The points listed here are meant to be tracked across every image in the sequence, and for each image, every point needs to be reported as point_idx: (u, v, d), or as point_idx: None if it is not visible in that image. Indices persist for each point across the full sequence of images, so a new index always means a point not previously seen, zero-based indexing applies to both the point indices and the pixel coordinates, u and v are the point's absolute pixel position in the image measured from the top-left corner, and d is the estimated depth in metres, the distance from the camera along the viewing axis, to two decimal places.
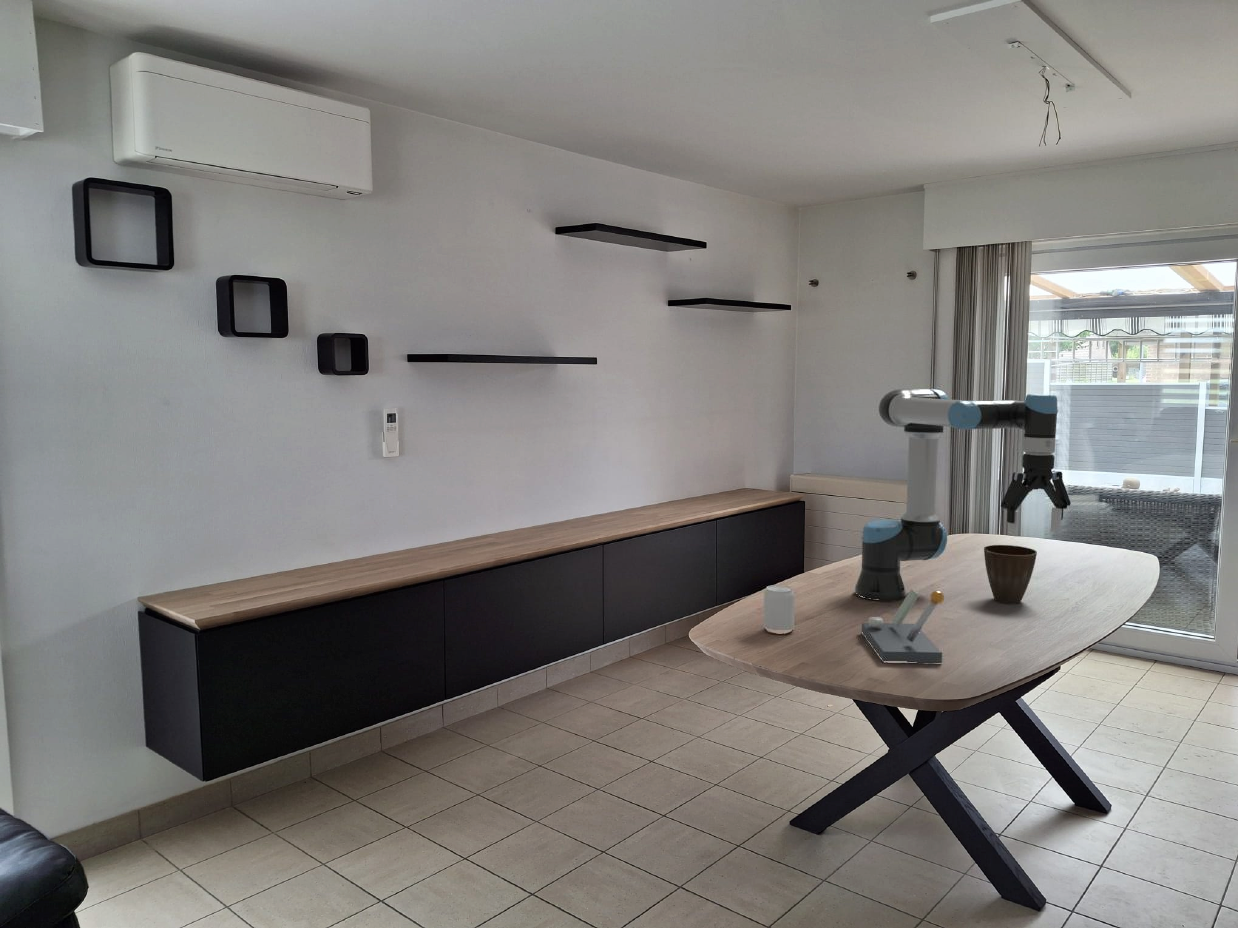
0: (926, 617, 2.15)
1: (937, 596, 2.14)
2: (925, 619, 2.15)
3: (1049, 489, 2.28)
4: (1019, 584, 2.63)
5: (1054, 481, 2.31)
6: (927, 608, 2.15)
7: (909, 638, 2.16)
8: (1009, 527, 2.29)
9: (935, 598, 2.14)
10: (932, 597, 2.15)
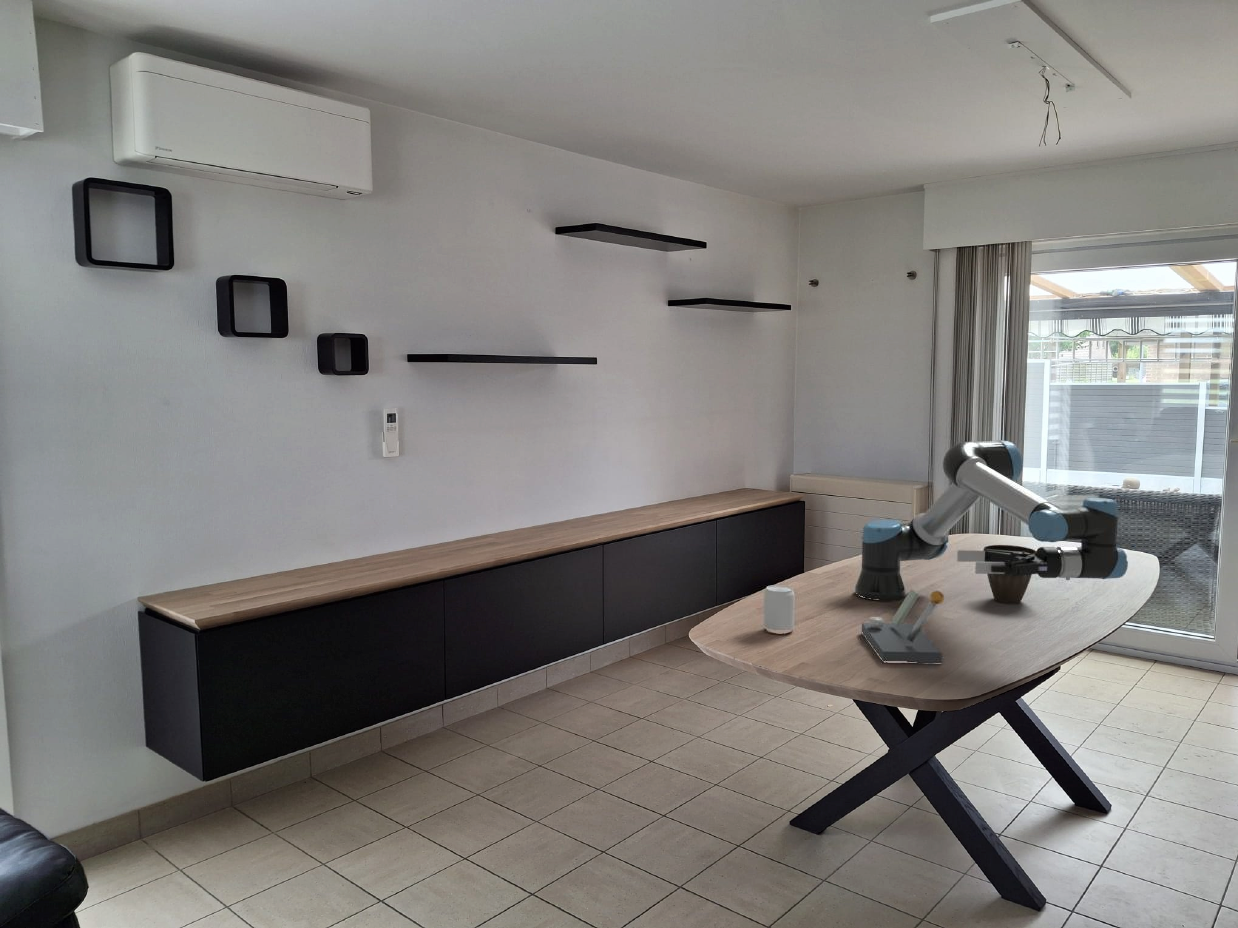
0: (926, 617, 2.15)
1: (937, 596, 2.14)
2: (925, 619, 2.15)
3: None
4: (1019, 584, 2.63)
5: None
6: (927, 608, 2.15)
7: (909, 638, 2.16)
8: (985, 563, 2.07)
9: (935, 598, 2.14)
10: (932, 597, 2.15)
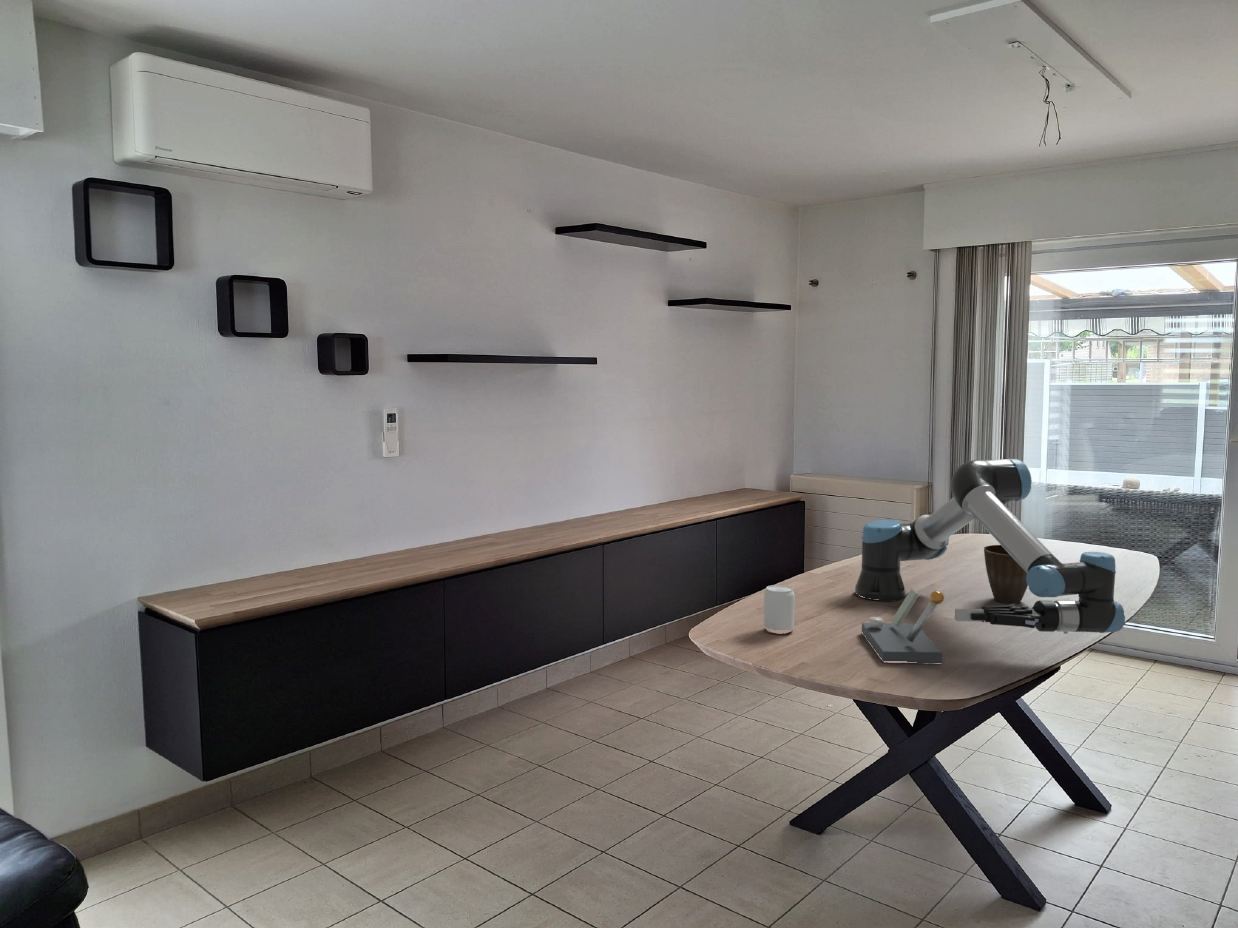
0: (926, 617, 2.15)
1: (937, 596, 2.14)
2: (925, 619, 2.15)
3: None
4: (1019, 584, 2.63)
5: None
6: (927, 608, 2.15)
7: (909, 638, 2.16)
8: (965, 611, 2.14)
9: (935, 598, 2.14)
10: (932, 597, 2.15)
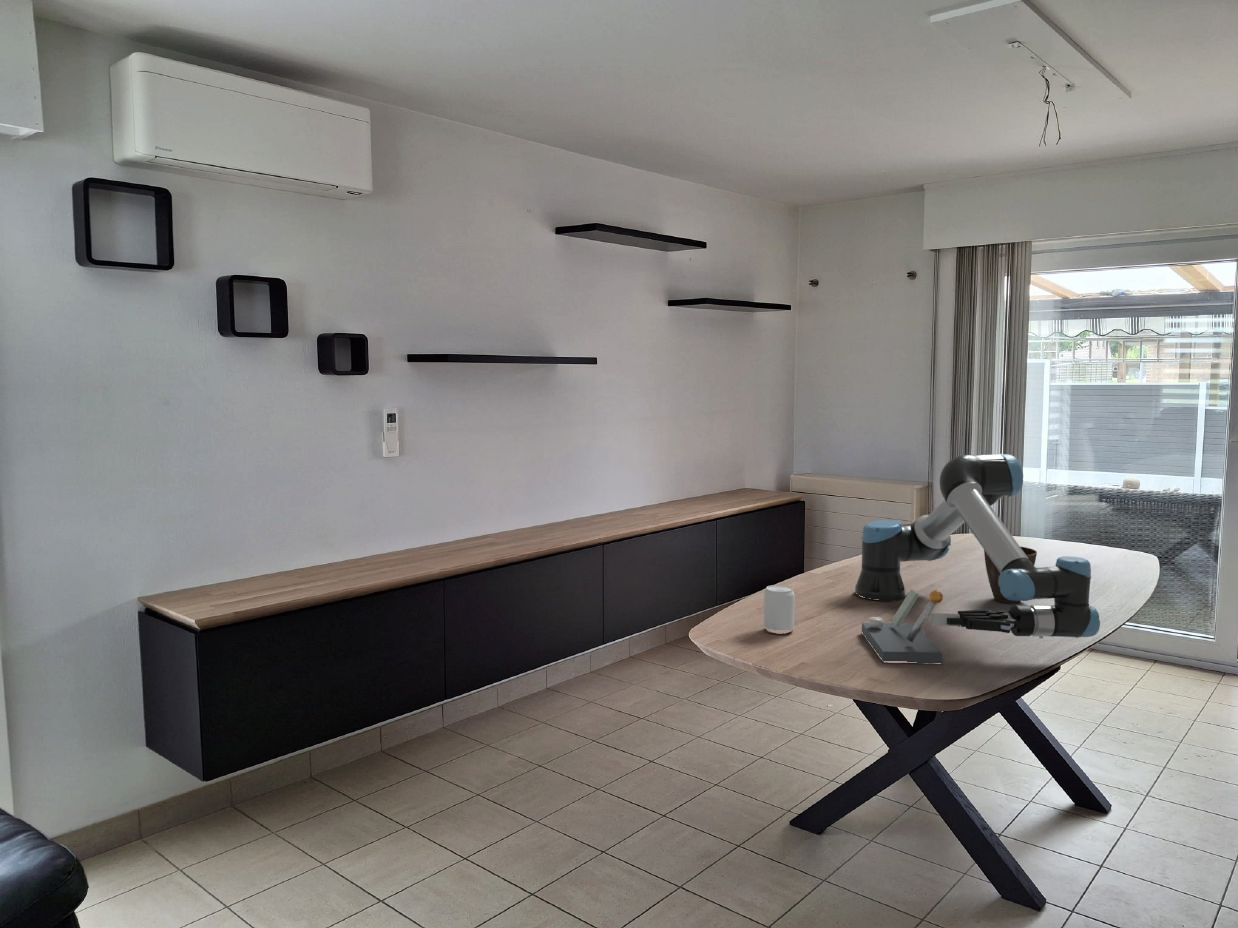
0: (925, 617, 2.15)
1: (936, 596, 2.14)
2: (924, 619, 2.15)
3: None
4: None
5: None
6: (926, 608, 2.15)
7: (909, 638, 2.16)
8: (941, 616, 2.14)
9: (934, 597, 2.14)
10: (931, 597, 2.15)
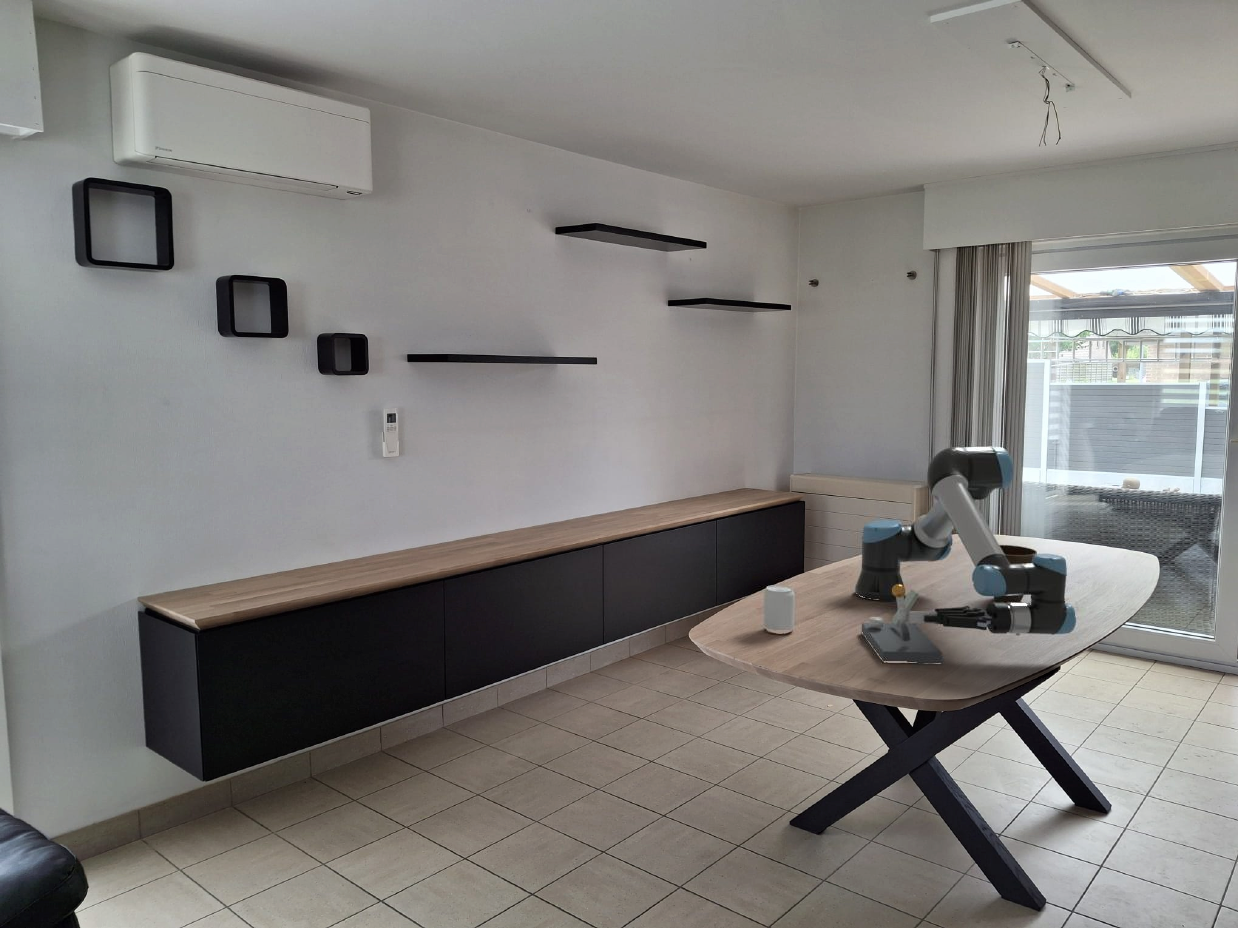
0: (903, 613, 2.15)
1: (897, 591, 2.14)
2: (904, 615, 2.15)
3: None
4: None
5: None
6: (898, 605, 2.15)
7: (905, 639, 2.16)
8: (918, 613, 2.15)
9: (897, 593, 2.14)
10: (894, 594, 2.15)
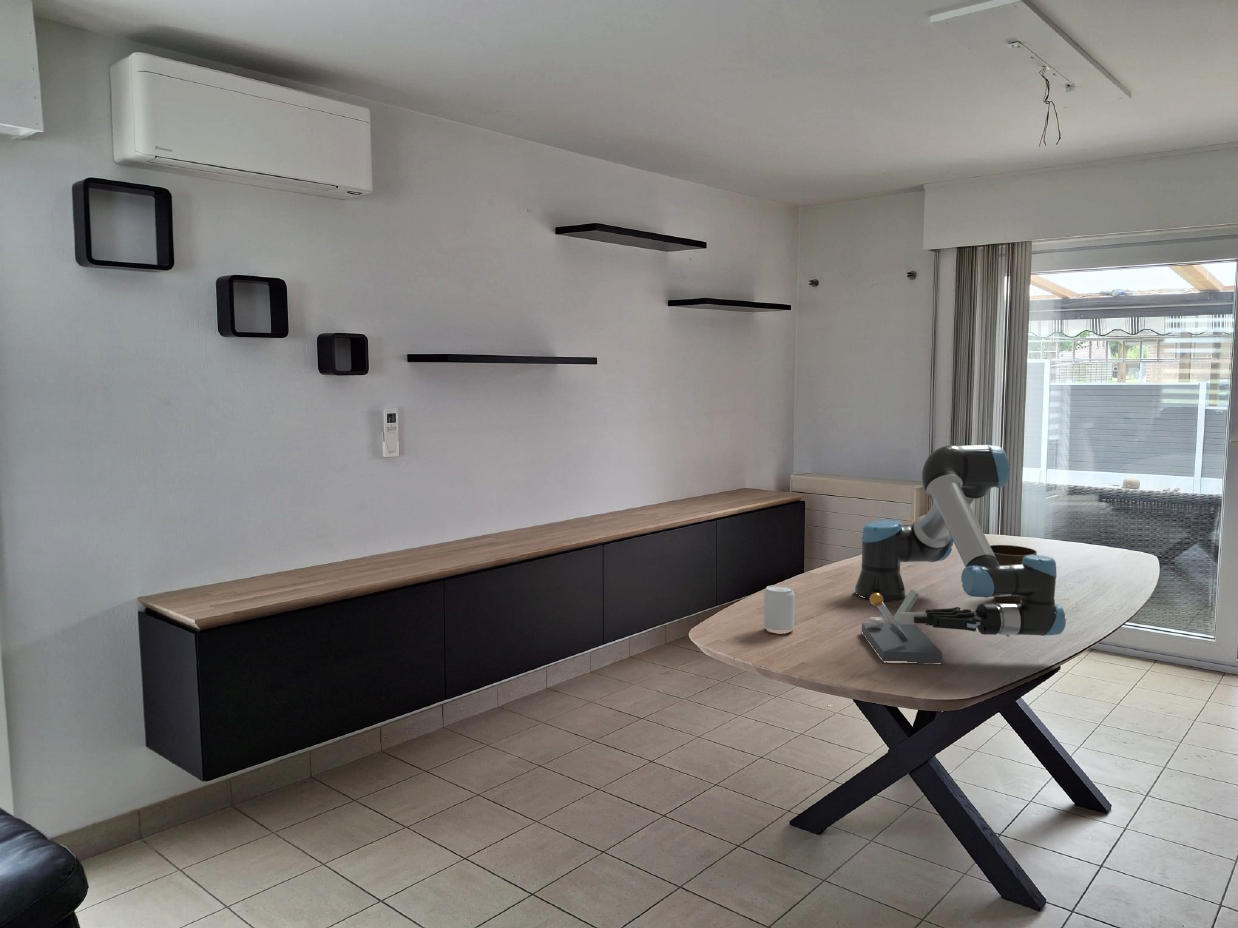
0: (890, 617, 2.16)
1: (874, 601, 2.15)
2: (891, 619, 2.16)
3: None
4: None
5: None
6: (882, 612, 2.16)
7: (903, 640, 2.16)
8: (908, 614, 2.15)
9: (876, 603, 2.15)
10: (874, 604, 2.16)
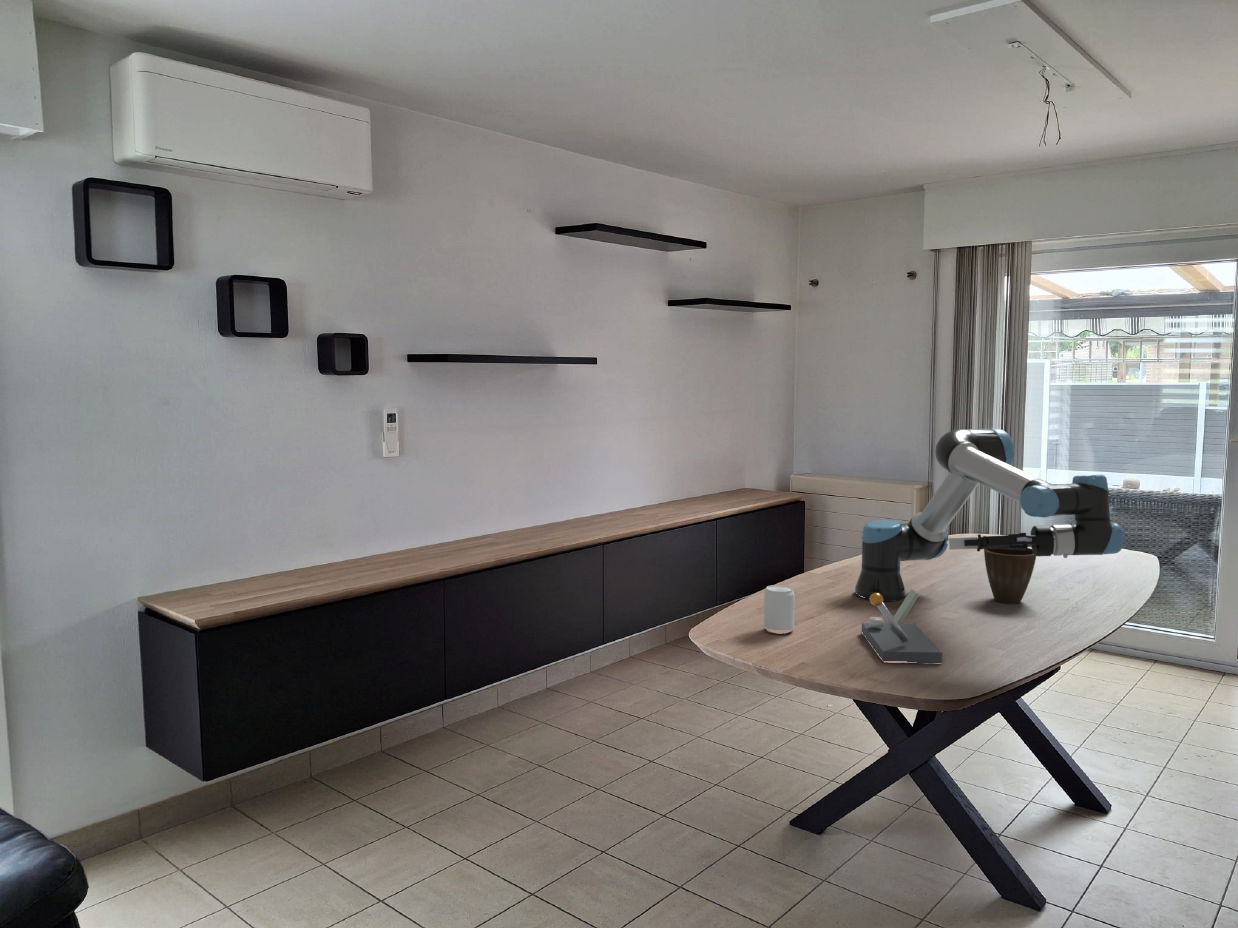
0: (890, 617, 2.16)
1: (874, 601, 2.15)
2: (891, 619, 2.16)
3: (1007, 546, 2.17)
4: (1019, 584, 2.63)
5: None
6: (882, 612, 2.16)
7: (903, 640, 2.16)
8: (957, 539, 2.18)
9: (876, 603, 2.15)
10: (874, 604, 2.16)
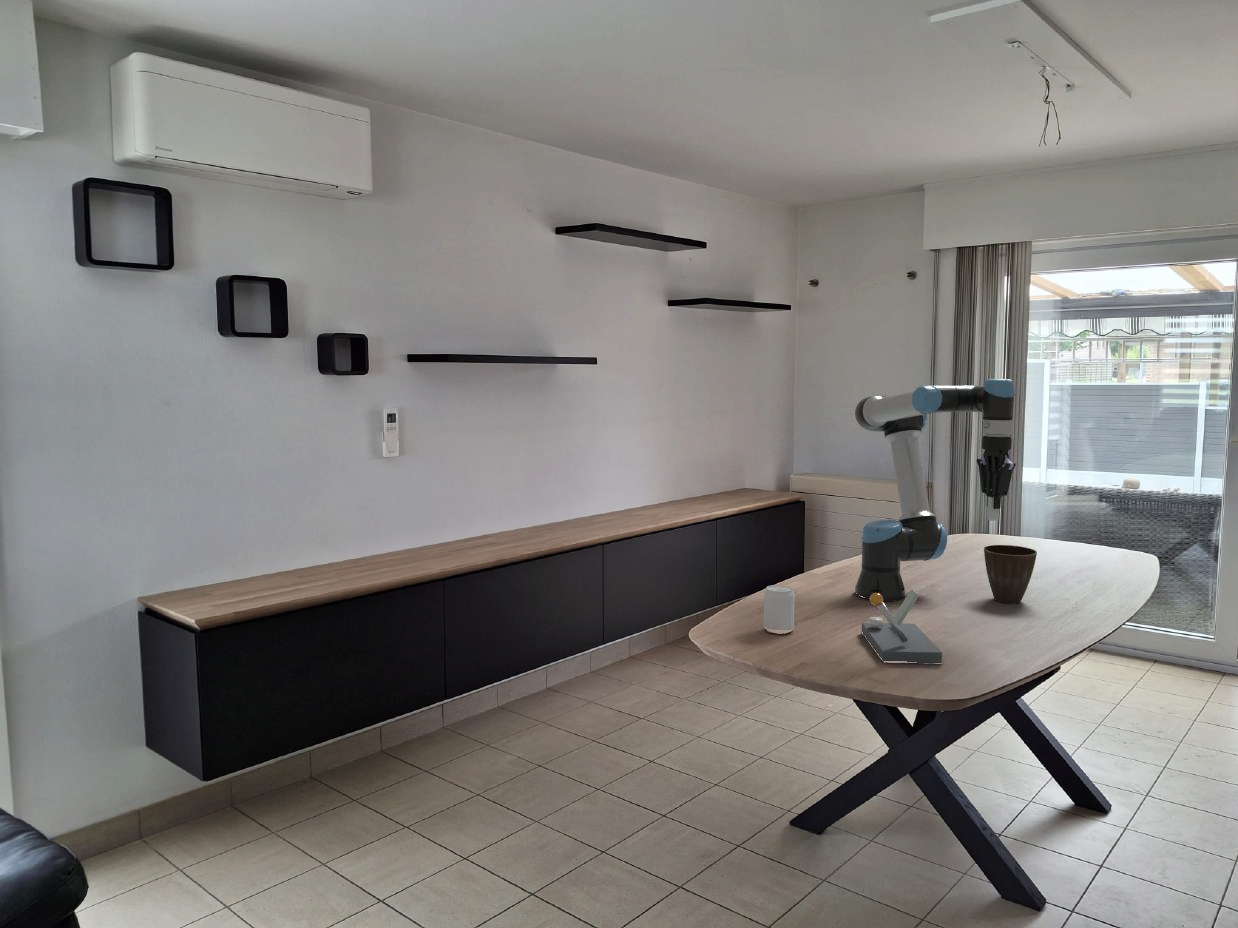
0: (890, 617, 2.16)
1: (874, 601, 2.15)
2: (891, 619, 2.16)
3: None
4: (1019, 584, 2.63)
5: None
6: (882, 612, 2.16)
7: (903, 640, 2.16)
8: None
9: (876, 603, 2.15)
10: (874, 604, 2.16)
